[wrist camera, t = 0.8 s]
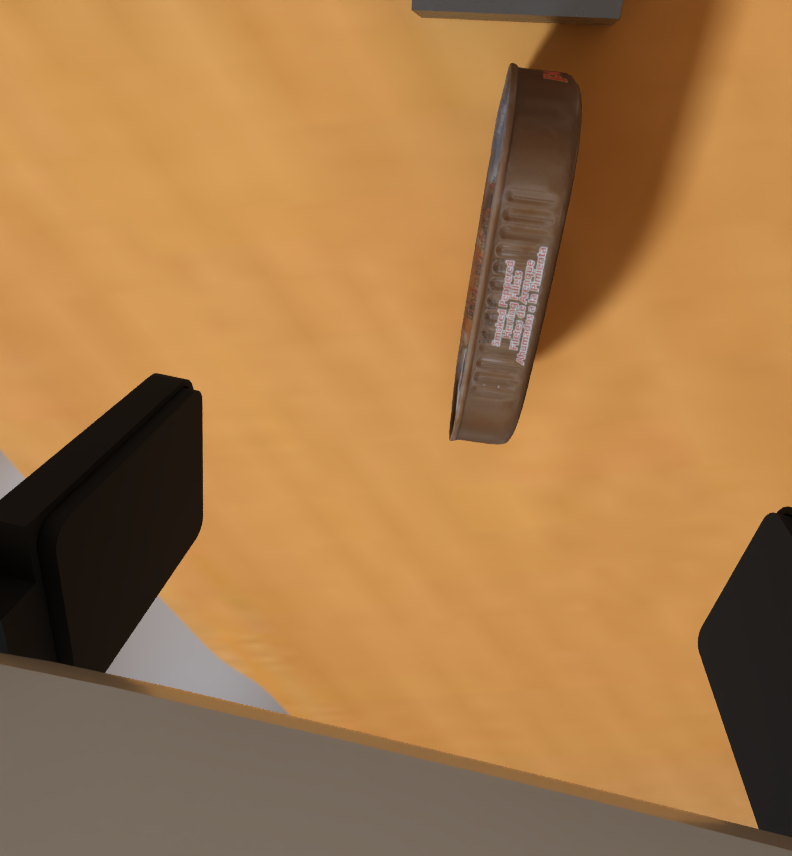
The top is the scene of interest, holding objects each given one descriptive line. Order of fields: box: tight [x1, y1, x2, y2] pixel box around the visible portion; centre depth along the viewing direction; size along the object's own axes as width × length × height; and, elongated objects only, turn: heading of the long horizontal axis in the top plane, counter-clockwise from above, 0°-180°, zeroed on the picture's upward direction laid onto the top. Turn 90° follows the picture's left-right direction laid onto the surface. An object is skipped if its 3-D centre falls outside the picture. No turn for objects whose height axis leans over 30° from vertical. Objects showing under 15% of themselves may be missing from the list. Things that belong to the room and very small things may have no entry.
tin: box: [449, 63, 582, 444], centre depth 26 cm, size 15×3×8 cm, turn 174°
